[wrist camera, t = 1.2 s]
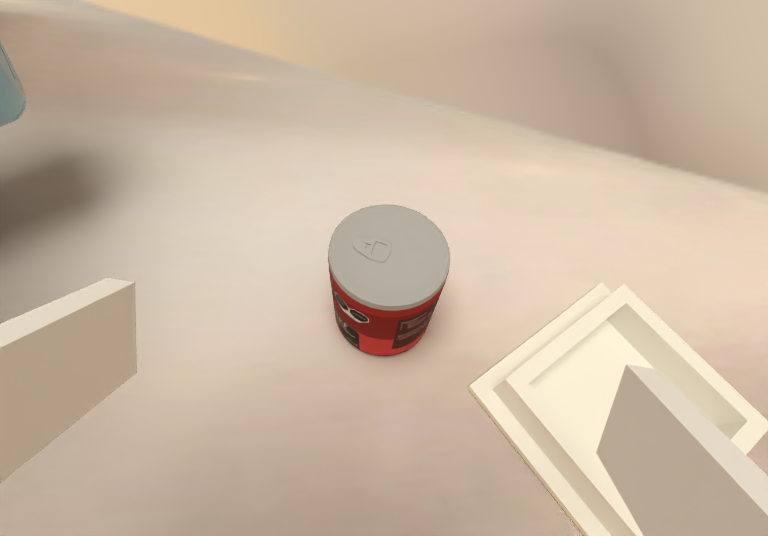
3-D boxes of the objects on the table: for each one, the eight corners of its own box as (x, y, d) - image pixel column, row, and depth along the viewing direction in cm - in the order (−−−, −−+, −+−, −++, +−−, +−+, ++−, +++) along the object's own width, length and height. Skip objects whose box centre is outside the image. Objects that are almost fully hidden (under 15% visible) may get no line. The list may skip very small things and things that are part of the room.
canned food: (338, 273, 39) (331, 200, 30) (426, 277, 40) (448, 205, 30) (331, 357, 36) (322, 304, 26) (428, 360, 36) (454, 309, 26)
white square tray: (467, 387, 35) (479, 374, 31) (597, 286, 40) (621, 264, 36) (621, 583, 29) (659, 595, 26) (751, 437, 34) (798, 429, 31)
